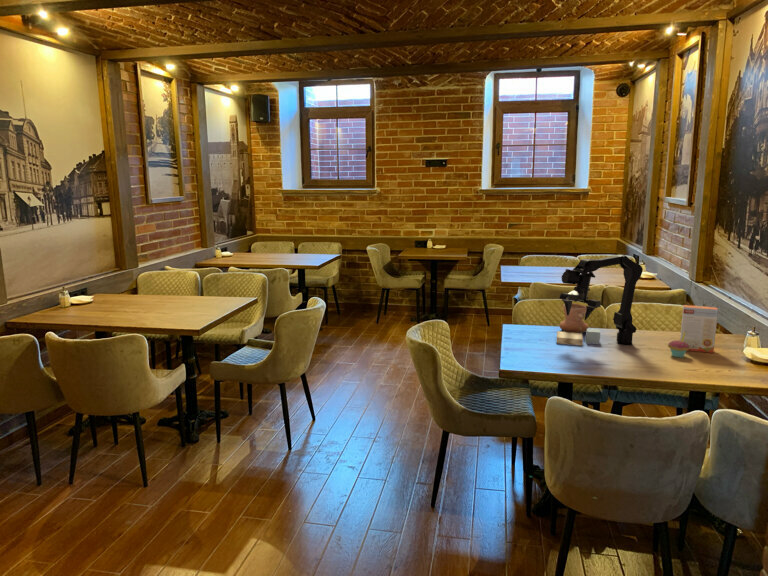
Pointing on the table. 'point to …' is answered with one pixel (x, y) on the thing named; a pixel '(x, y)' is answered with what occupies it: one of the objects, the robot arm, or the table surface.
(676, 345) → the cupcake
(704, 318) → the cracker box
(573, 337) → the birch board
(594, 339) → the gray cube
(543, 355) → the table surface
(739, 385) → the table surface
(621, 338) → the robot arm
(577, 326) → the ceramic jug
